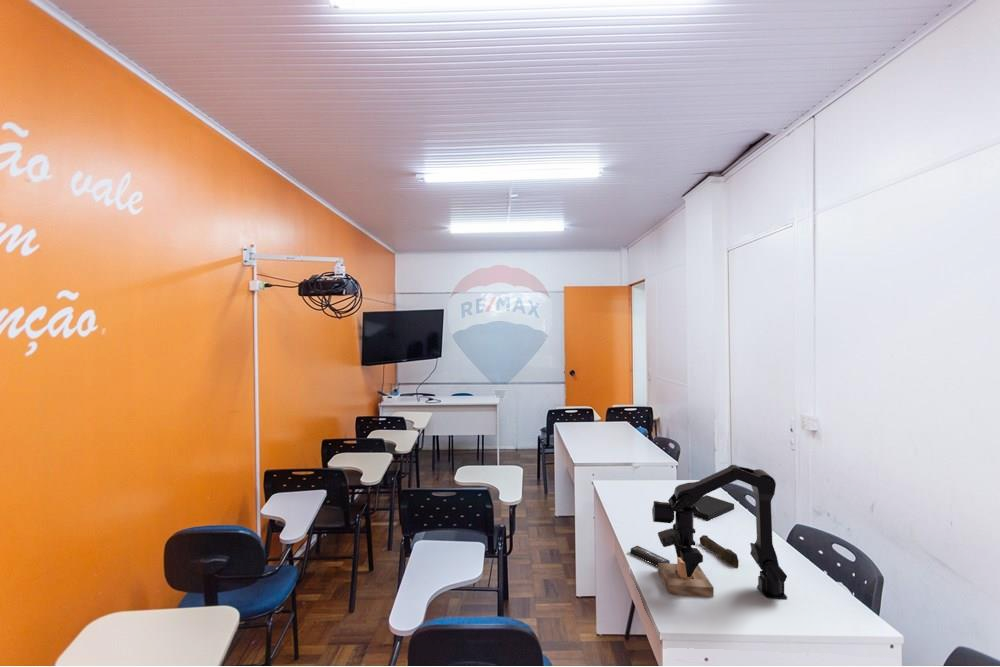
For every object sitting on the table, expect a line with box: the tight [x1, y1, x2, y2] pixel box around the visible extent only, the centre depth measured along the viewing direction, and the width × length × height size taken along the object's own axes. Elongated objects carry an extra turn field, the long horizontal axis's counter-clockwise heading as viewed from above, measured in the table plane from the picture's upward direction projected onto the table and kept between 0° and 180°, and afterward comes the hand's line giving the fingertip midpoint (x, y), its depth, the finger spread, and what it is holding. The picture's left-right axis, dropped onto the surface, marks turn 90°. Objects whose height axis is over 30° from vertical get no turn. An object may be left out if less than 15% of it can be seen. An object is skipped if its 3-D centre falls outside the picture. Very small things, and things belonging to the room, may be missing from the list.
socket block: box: [657, 562, 715, 597], centre depth 151 cm, size 14×14×3 cm
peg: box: [676, 557, 692, 579], centre depth 151 cm, size 4×4×8 cm
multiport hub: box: [630, 545, 671, 567], centre depth 167 cm, size 4×14×2 cm, turn 36°
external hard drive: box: [693, 494, 735, 522], centre depth 214 cm, size 14×23×3 cm, turn 125°
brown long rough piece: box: [699, 534, 740, 568], centre depth 170 cm, size 19×4×5 cm, turn 10°
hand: (684, 569), depth 151 cm, fingers open, 9 cm apart
